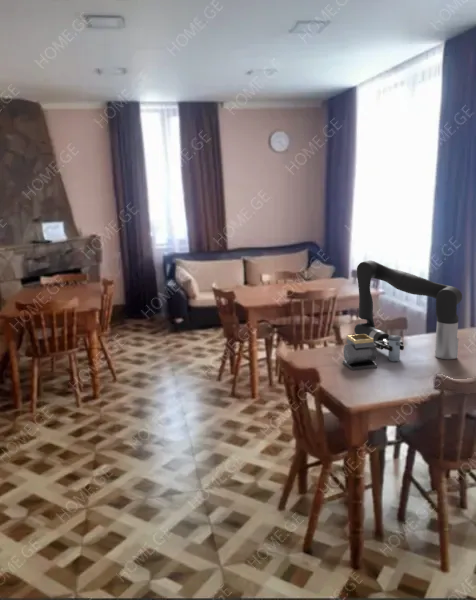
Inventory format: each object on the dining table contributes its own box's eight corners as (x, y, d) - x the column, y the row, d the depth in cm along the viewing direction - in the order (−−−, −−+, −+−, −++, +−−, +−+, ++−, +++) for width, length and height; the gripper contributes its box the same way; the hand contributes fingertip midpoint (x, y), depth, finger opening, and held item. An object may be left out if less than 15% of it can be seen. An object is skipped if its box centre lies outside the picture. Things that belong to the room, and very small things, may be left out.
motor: (367, 360, 237) (367, 333, 234) (377, 367, 227) (377, 339, 224) (343, 363, 234) (343, 335, 232) (352, 370, 225) (352, 341, 222)
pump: (385, 358, 237) (386, 335, 235) (396, 356, 238) (397, 334, 236) (392, 362, 230) (393, 339, 228) (404, 361, 231) (404, 338, 229)
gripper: (366, 332, 245) (383, 342, 229) (393, 329, 248) (411, 339, 232) (366, 347, 247) (382, 358, 230) (393, 344, 250) (411, 354, 233)
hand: (397, 348), depth 231 cm, fingers closed on pump, 5 cm apart
